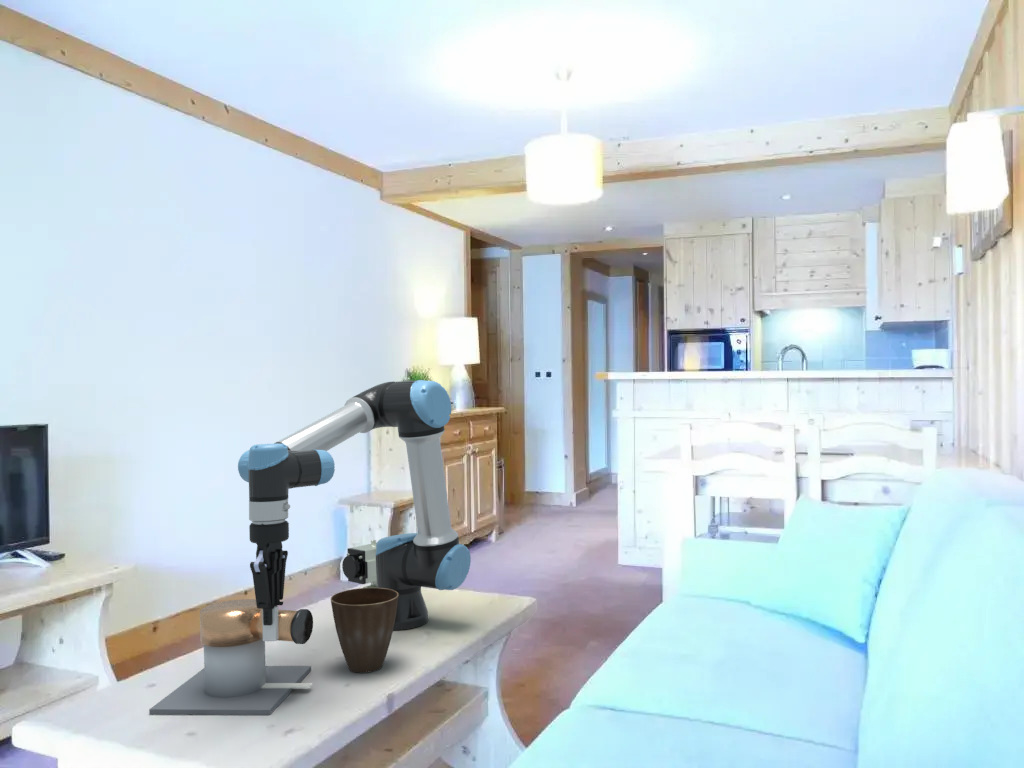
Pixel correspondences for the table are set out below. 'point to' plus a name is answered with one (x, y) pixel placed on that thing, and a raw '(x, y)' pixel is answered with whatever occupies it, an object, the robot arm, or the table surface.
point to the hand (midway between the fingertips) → (270, 639)
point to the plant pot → (364, 625)
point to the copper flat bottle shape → (249, 624)
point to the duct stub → (234, 684)
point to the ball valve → (361, 565)
